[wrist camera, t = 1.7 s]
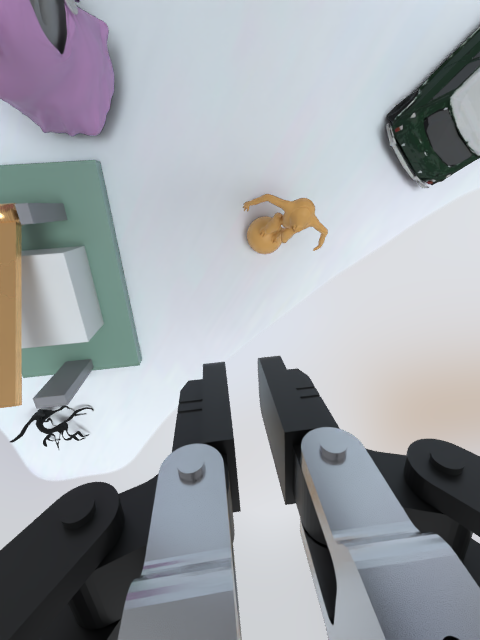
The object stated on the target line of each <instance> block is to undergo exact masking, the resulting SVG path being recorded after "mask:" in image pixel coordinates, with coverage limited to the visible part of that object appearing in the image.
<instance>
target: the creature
mask: <svg viewBox="0 0 480 640" xmlns="http://www.w3.org/2000/svg"><path fill="white" fill-rule="evenodd" d="M64 407H67V408H68V409H71V408H69V407H68V406H66V405H64V406H62V407H61V408H60V409H58V410H55V411H52V410H43V409H39V410H38V412H36V413H35V414H34V415H33V416H32V418H31V419H30V420H29V422H28V423H27V424H26V425H25V426H24V428H23V429H22V431H21V433H20V434H19V435H18V436H17V437H16V438H15V439H14V440H12V441H10V442H14V441H16V440H18V439H19V438H20V437H22V436H23V435H24V433H25V431H26V429H27V427H28V426H29V425H30V423H31V422H33V421H34V420H37V422H36V426H37V427H38V429H39V430H40V431H41V432H43V433H46V434H49V435H47V436H46V437H45V439H44V440H43V444H44V446H46V447H47V444H46V439H47V440H49V441H57V440H56V439H55V440H50V439H49V438H50V436H51V435H53V436H54V437H55V435H54V434H52V433H53V432H57V431H58V432H59V433H60V434H61V433H62V437H63V432H64V430H66V432H67V430H68V424H67V423H66V422H67V421H69V420H71V419H72V418H73V417H74V415H75V416H77V415H82V414H76V413H78V412H79V411H82V410H84V409H92V408H88V407H87V408H82V409H79V410H76V411H75V412H74V413H73V414H72V415H71V416H70V417H69V419H67V420H65V421H64V422H62V423H60V424H59V425H57V426H56V427H54V428H52V429H47V428H45V427H44V426H43V422H48V421H49V420H51V418H48V417H49V416H51V415H52V414H54V413H55V412H57V411H60V410H62V409H63V408H64ZM92 410H93V409H92ZM93 411H94V410H93ZM85 414H86V413H85ZM47 418H48V419H47ZM46 419H47V420H46ZM45 420H46V421H45ZM51 423H52V420H51ZM52 425H53V423H52ZM54 426H55V425H54ZM67 434H68V432H67ZM77 434H79V435H80V436H81V437H85V436H83V435H82V434H81V432H80V431H77V432H76V433H75V434H73V435H70V434H68V435H69V436H70V438H68V439H65V438H64V437H63V438H64V439H65V440H71V439H72V438H74V439H75V440H77V441H79V439H78V438H77V437H76V435H77ZM86 436H88V435H86ZM59 438H60V436H59ZM82 439H85V438H82ZM82 439H80V440H82ZM59 440H60V439H59ZM56 444H57V446H58V444H59V441H58V443H57V442H56ZM58 449H59V446H58Z"/></svg>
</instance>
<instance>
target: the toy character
mask: <svg viewBox="0 0 480 640" xmlns="http://www.w3.org/2000/svg"><path fill="white" fill-rule="evenodd" d="M79 1H80V0H0V99H2V100H3V101H5V102H7V103H9V104H10V105H12V106H13V107H15V108H16V109H18V110H19V111H20V112H22V113H23V114H24V115H26V116H28V117H29V118H30V119H31V120H32V121H33V122H35V123H36V124H37V125H38V126H40V127H41V129H42V131H43V132H44V133H47V132H55V133H67V134H69V135H70V136H75V135H76V134H78V133H82V134H85V135H98V134H99V133H100V132H101V131H102V129H103V127H104V124H105V120H106V115H107V112H108V111H109V110H110V105H111V98H112V96H113V93H114V72H113V67H112V63H111V60H110V57H109V52H108V48H107V38H108V26H107V24H106V23H105V22H104V21H102V20H100V19H98V18H96V17H95V16H92V15H91V14H89V13H87V12H86V11H84V10H82V9H81V8H79V7H78V6H77V5H76V3H75V2H79Z"/></svg>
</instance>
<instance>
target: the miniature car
mask: <svg viewBox="0 0 480 640" xmlns="http://www.w3.org/2000/svg"><path fill="white" fill-rule="evenodd" d="M418 91H419V93H417V92H415V93H413V94H411V95H410V96H408V97H407V98H405V99H404V100H403V101H402V102H400V103H399V104H398V105H397V106H396V107H395V108H394V109H393V110H392V111H391V112H390V113H389V114H388V115H387V117H388V118H389V120H390V122H391V123H392V126H391V125H390V123H388V124H387V126H386V128H387V132H388V137H389V141H390V146H392V147H393V149H394V151H395V153H396V155H397V157H398V159H399V160H400V162H401V164H402V166H403V167H404V169H405V170H406V171H407V173H408V174H409V175H410V177H411V178H412V179H413V180H415V181H416V182H417V183H418V184H419V185H420V186H421V187H422V188H429V187H428V186H426V185H425V184H424V183H423V182H422V181H425V182H427V183H428V184H431V185H433V184H435V183H437V182H441V181H443V180H445V179H446V178H448V177H449V176H451V175H452V174H454V173H455V172H457V171H459V170H460V169H462V168H463V167H465V166H467V165H468V164H470V163H472V162H473V161H475V160H477V159H479V158H480V27H479V28H478V29H477V30H476V31H475V32H474V33H473V34H472V35H471V36H470V37H469V38H468V39H467V40H466V41H465V42H464V43H463V44H462V45H461V46H460V47H459V48H458V49H457V50H456V51H455V52H454V53H453V54H452V55H451V56H450V57H449V58H448V59H447V60H446V61H445V62H444V63H443V64H442V65H441V66H440V67H439V68H438V69H437V70H436V71H435V72H434V73H433V74H432V75H431V76H430V77H429V78H428V79H427V80H426V81H425V82H424V84H423V85H422V86H421V87H420V88H419V89H418ZM388 125H389V126H388ZM396 144H397V145H398V147H399V149H400V151H401V153H402V154H403V156H404V158H405V160H406V161H407V163H408V165H409V167H410V168H411V169H412V171H413V172H414V173H415V174H416V176H414V175H413V173H412V172H411V171H410V169H409V168H408V166H407V164H406V162H405V160H404V159H403V157H402V155H401V153H400V152H399V150H398V148H397V146H396ZM421 180H422V181H421Z"/></svg>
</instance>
